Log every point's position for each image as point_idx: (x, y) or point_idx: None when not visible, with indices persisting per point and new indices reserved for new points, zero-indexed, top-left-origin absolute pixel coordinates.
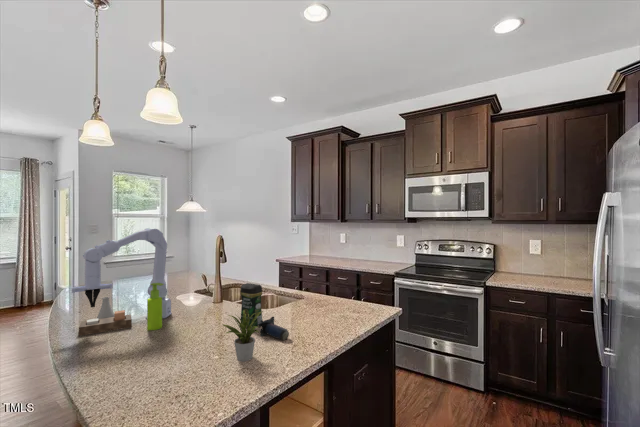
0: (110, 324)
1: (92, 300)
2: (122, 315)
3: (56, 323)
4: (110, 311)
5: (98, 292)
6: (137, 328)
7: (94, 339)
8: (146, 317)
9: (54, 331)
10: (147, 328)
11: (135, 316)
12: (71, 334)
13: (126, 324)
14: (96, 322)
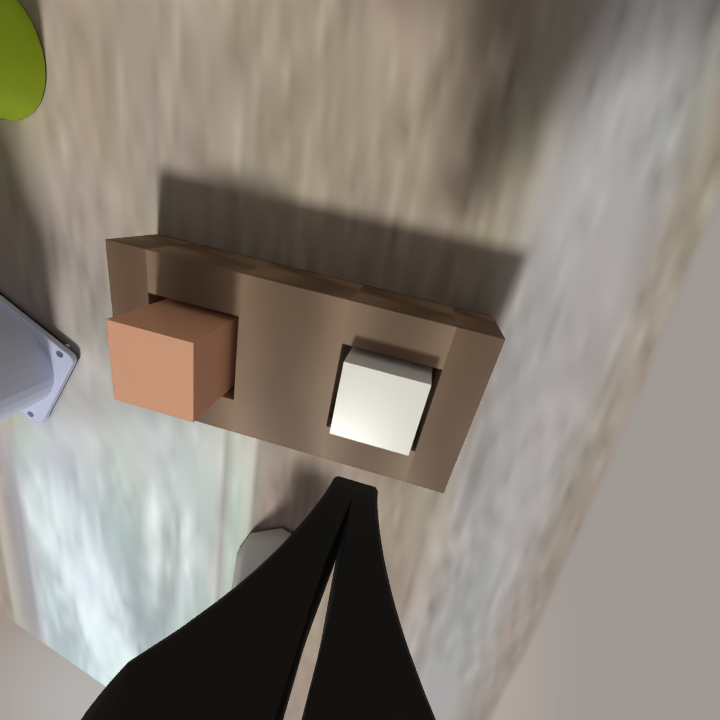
0: (270, 275)
1: (331, 596)
2: (149, 316)
3: (508, 654)
4: (243, 574)
5: (125, 689)
6: (118, 160)
7: (428, 104)
8: (68, 363)
9: (569, 538)
10: (35, 49)
11: (139, 458)
12: (517, 396)
13: (170, 243)
14: (359, 359)
